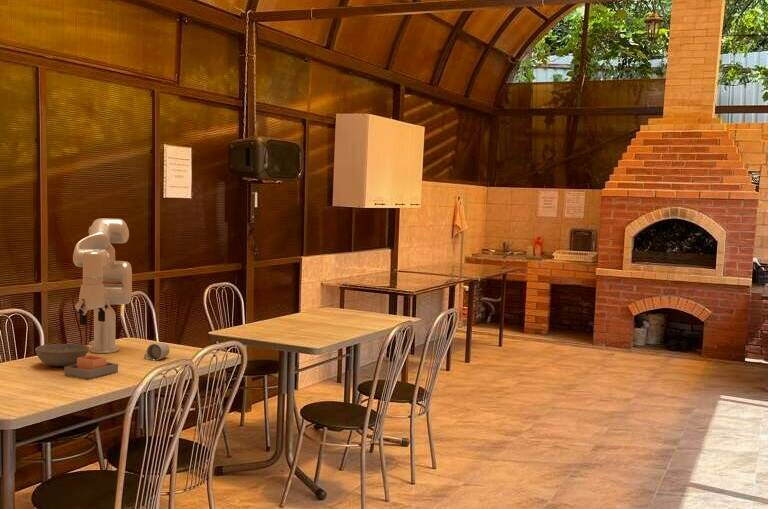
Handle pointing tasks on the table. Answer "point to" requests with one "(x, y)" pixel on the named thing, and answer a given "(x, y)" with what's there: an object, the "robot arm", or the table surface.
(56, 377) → the table surface
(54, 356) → the bowl
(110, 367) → the tray
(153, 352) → the ceramic mug
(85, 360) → the crate small
